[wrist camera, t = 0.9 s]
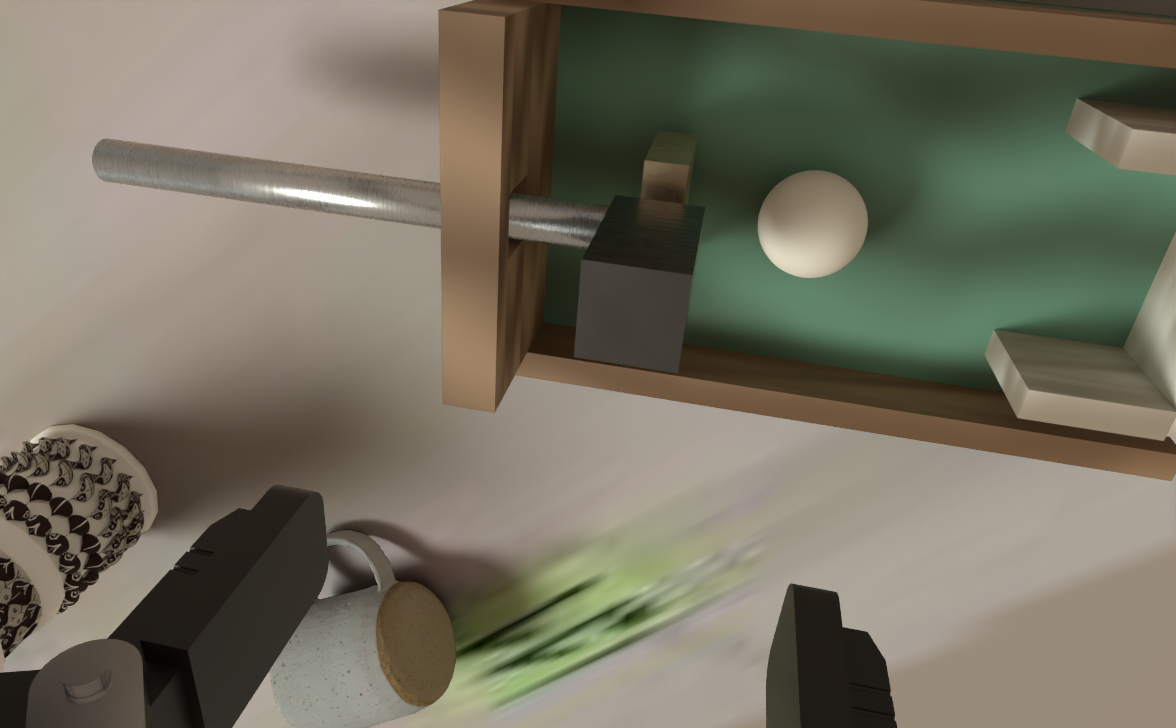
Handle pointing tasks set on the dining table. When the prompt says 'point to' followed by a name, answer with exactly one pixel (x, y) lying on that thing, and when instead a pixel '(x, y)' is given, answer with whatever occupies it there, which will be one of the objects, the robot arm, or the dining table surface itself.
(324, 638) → the ceramic mug
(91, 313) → the dining table surface
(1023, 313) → the foosball field
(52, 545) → the decorative candle
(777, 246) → the ball
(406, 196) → the kicker rod
